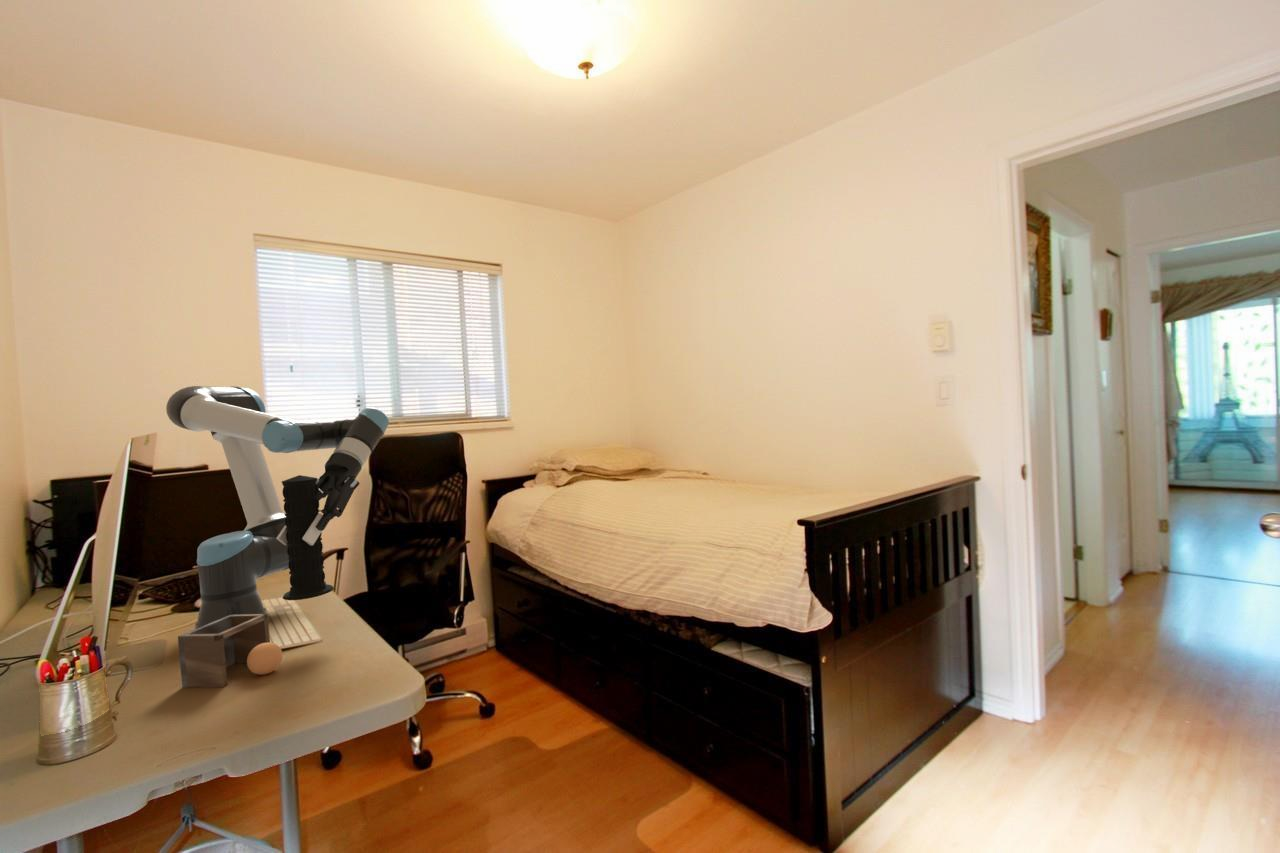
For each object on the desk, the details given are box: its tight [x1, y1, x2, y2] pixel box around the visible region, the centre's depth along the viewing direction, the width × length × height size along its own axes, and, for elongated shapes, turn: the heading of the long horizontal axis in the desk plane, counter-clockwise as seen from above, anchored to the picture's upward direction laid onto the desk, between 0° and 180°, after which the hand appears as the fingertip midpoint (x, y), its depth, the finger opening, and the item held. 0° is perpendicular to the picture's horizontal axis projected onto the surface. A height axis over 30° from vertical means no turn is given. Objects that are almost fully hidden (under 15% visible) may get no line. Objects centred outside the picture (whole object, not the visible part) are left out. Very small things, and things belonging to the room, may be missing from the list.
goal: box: [177, 613, 271, 688], centre depth 118 cm, size 12×9×10 cm
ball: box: [246, 642, 283, 676], centre depth 117 cm, size 6×6×6 cm
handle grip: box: [281, 474, 335, 601], centre depth 130 cm, size 10×26×10 cm
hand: (294, 541), depth 127 cm, fingers closed on handle grip, 7 cm apart
